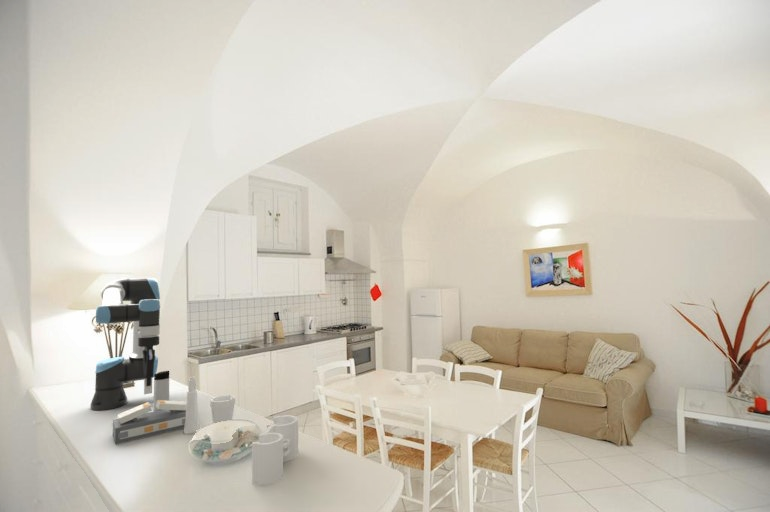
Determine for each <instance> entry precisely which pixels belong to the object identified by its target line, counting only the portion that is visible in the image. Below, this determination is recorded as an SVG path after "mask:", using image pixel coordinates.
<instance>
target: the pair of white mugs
mask: <svg viewBox="0 0 770 512" xmlns="http://www.w3.org/2000/svg"><path fill="white" fill-rule="evenodd" d="M258 438H259V441H253V442H252V443H251V450H252V451H251V460H252V461H251V463H252V464H251V467H252V468H251V470H252V472H251V473H252V476H251V477H252V478H251V479H252V480H251V481H252V482H251V484H252V485H258V486H261V487H262V486H272V485H275V484H277V483H278V482H281V480H283V478H284V463H285V462H290V461H291V460H294V459H295V458H297V457H298V456H299V418H298V416H295V415H291V414H290V415H289V414H286V415H285V414H283V415H274V416H273V423H267V424H266V429H265V430H264V431H263V433H259V436H258Z"/></svg>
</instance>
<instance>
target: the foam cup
mask: <svg viewBox="0 0 770 512" xmlns="http://www.w3.org/2000/svg"><path fill="white" fill-rule="evenodd" d="M235 403H236V395H234V394H233V395H232V394H224V395H218V396H214V397H212V398H211V399H210V409H211V416H212V424H213V423H217V422H221V421H227V420H232V421H233V416H234V412H235V411H234V409H235Z"/></svg>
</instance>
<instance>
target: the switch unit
mask: <svg viewBox="0 0 770 512" xmlns="http://www.w3.org/2000/svg"><path fill="white" fill-rule="evenodd" d="M185 418H186V410H159V411H154V412H153V411H150V412H148V413H145V414H143V415H141V416H139V417H136V418H134V419H132V420H129V421H127V422H125V423H122V424H120V422H119V419H118V418H116V419H112V437H113V443H114V444H115V445H119V444H123V443H127V442H131V441H134V440H140V439H144V438H147V437H151V436H152V437H153V436H156V435H160V434H165V433H169V432H172V431H177V430H181V429H184V427H185Z"/></svg>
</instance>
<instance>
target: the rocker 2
mask: <svg viewBox="0 0 770 512" xmlns="http://www.w3.org/2000/svg"><path fill="white" fill-rule="evenodd" d="M186 403H187V401H181V400H169V401H166V400H157V403H156V407H157V408H158V409H160V410H186Z"/></svg>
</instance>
